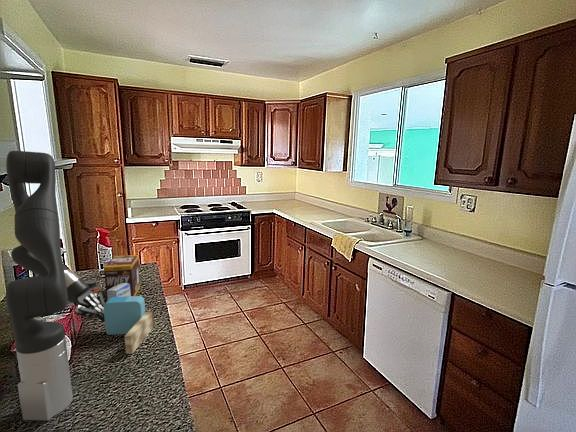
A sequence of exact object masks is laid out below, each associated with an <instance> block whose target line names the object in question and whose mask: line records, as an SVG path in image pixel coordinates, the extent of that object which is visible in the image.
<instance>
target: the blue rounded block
mask: <svg viewBox="0 0 576 432" xmlns="http://www.w3.org/2000/svg"><path fill="white" fill-rule="evenodd" d="M104 303H105V304H104V306H103V309H104V319H105V322H104V327H105V333H106V334H107V335H109V336H112V335H114V336H115V335H126V334H127V333H128V332H129V331H130V330H131V328H132V327H133V326H134V325H135V324H136V323H137V322H138V321H139V320H140V319H141V317H142V316H143V315H144V314H145V313H146V303H145V298H144V297H143V296H141V295H136V296H127V297H111V298H110V299H109V300H108V301H107V300H106V302H104Z"/></svg>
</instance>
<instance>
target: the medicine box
mask: <svg viewBox="0 0 576 432" xmlns="http://www.w3.org/2000/svg"><path fill="white" fill-rule="evenodd" d="M127 296H131V293H130V284H128V283H120V284H118V285H116V286H114V287H112V288H111V289H109V290H107V296H106V298H107V297H108V300H109V299H110V298H111V297H127Z"/></svg>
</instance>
